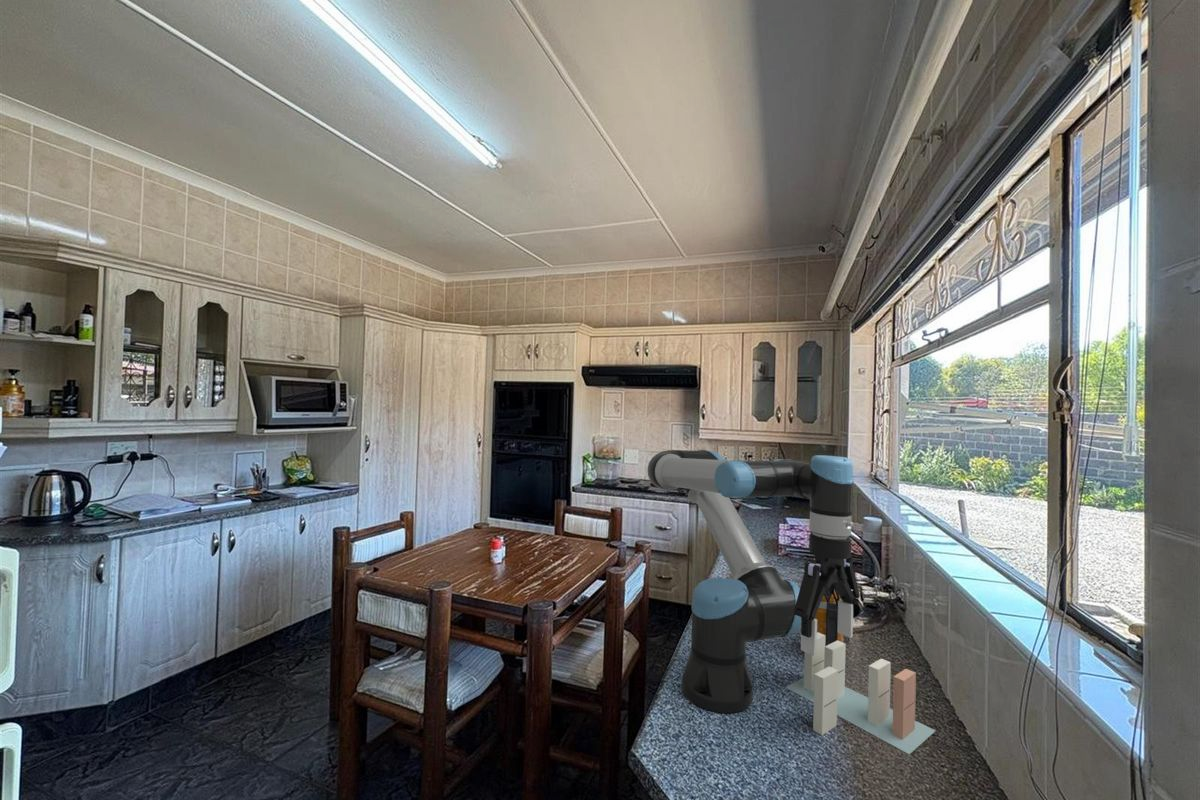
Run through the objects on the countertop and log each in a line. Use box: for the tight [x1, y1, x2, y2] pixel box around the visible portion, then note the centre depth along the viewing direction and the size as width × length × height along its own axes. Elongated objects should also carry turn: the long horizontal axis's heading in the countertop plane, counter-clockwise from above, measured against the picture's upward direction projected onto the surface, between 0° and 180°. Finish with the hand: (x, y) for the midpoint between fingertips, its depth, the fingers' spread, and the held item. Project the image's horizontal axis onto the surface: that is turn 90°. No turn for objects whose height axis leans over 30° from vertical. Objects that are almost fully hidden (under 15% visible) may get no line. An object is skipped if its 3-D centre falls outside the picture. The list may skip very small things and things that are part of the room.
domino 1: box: [803, 632, 825, 692], centre depth 108 cm, size 2×5×11 cm, turn 126°
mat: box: [785, 677, 937, 755], centre depth 100 cm, size 25×12×1 cm, turn 36°
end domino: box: [892, 668, 917, 740], centre depth 93 cm, size 2×5×11 cm, turn 126°
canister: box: [814, 584, 844, 646], centre depth 121 cm, size 9×11×20 cm
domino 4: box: [867, 658, 892, 726], centre depth 97 cm, size 2×5×11 cm, turn 126°
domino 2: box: [824, 640, 847, 699], centre depth 104 cm, size 2×5×11 cm, turn 126°
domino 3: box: [812, 666, 838, 736], centre depth 94 cm, size 2×5×11 cm, turn 126°
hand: (827, 643), depth 94 cm, fingers open, 13 cm apart
